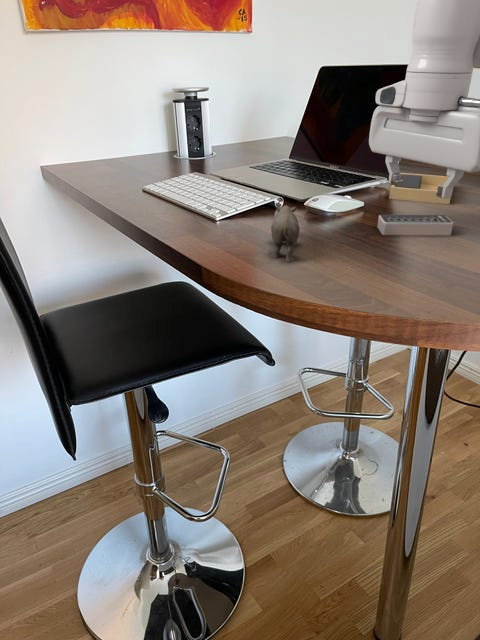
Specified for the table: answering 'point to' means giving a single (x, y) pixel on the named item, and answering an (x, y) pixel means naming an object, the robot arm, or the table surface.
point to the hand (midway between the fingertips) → (418, 190)
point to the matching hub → (411, 181)
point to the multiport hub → (414, 225)
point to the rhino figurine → (285, 231)
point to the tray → (421, 190)
